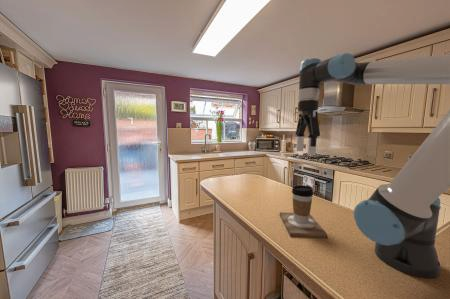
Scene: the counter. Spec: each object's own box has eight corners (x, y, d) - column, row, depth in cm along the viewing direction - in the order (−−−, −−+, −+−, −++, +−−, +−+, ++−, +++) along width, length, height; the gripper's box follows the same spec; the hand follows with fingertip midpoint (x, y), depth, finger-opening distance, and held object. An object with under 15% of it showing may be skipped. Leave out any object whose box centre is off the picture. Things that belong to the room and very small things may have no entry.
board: (327, 237, 73) (327, 233, 73) (289, 236, 74) (290, 231, 74) (309, 216, 91) (309, 212, 91) (279, 215, 92) (279, 211, 91)
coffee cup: (313, 226, 77) (316, 191, 76) (292, 224, 79) (293, 189, 77) (309, 217, 85) (310, 184, 84) (289, 215, 87) (290, 183, 85)
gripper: (333, 95, 64) (328, 157, 66) (306, 104, 89) (303, 150, 91) (310, 95, 65) (306, 156, 67) (290, 104, 89) (287, 149, 92)
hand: (305, 153), depth 79 cm, fingers open, 13 cm apart
